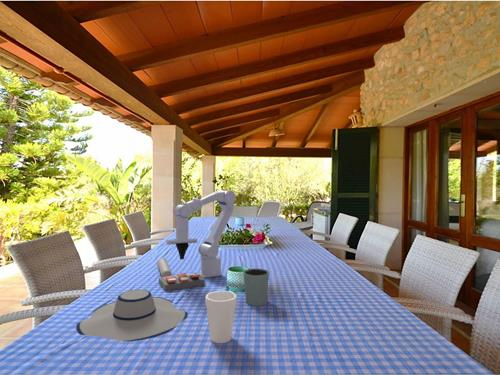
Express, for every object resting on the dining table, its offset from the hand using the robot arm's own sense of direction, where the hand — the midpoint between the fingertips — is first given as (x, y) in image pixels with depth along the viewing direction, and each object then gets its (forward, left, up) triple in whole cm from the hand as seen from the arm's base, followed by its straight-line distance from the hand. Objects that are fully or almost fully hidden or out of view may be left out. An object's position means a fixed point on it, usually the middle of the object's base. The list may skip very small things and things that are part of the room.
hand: (181, 258), depth 161 cm
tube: (+4, -17, -11) cm, 21 cm away
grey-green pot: (-18, +40, -11) cm, 45 cm away
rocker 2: (+2, +7, -7) cm, 10 cm away
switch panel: (+2, +5, -10) cm, 12 cm away
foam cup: (+6, +62, -11) cm, 63 cm away
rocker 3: (-4, +7, -7) cm, 11 cm away
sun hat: (+27, +34, -11) cm, 45 cm away
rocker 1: (+7, +7, -7) cm, 12 cm away
